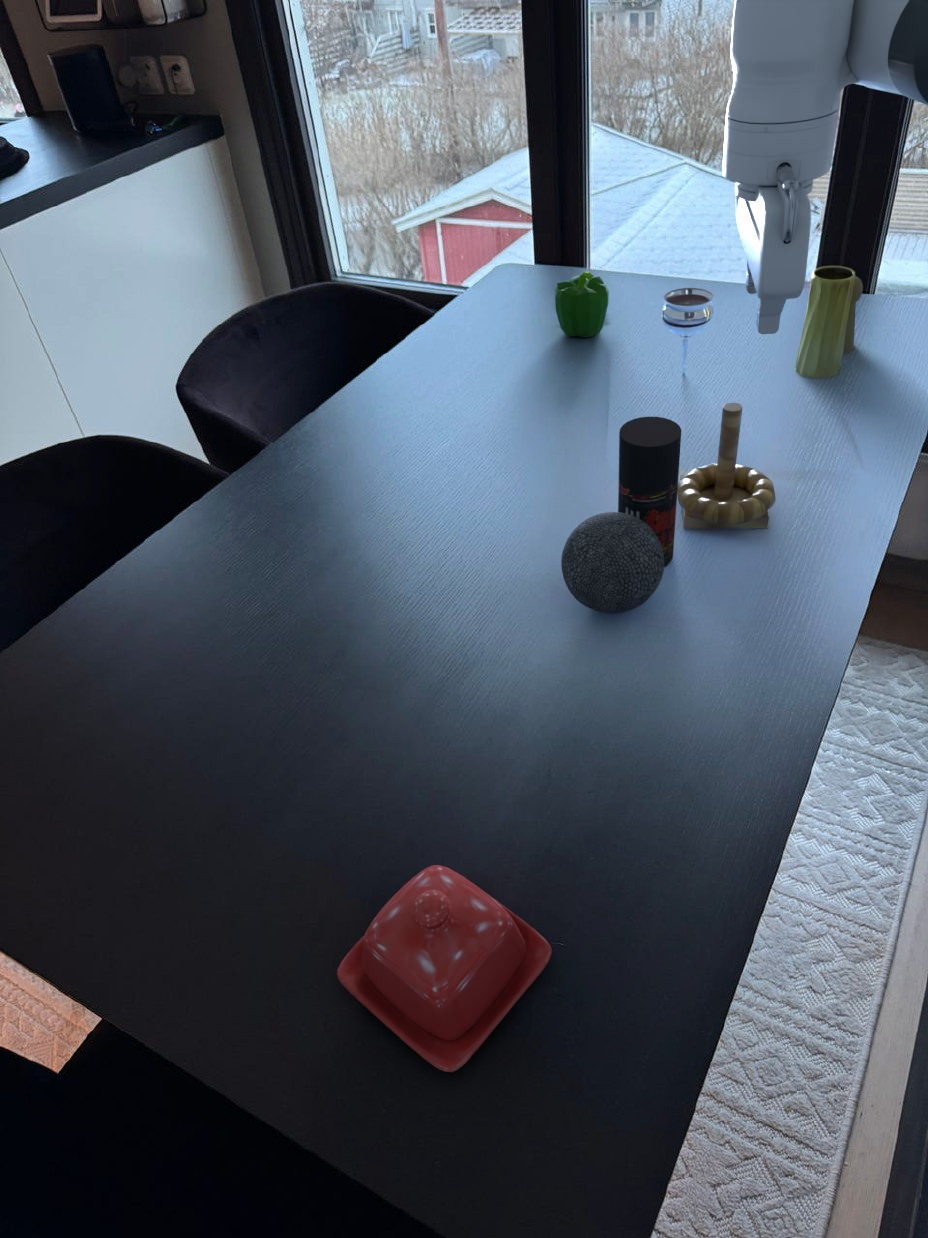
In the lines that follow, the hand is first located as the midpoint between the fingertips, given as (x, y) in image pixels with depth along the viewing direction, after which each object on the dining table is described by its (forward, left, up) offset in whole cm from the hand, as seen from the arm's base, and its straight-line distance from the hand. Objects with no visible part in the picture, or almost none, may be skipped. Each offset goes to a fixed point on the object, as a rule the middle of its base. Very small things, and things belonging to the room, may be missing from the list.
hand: (760, 309), depth 83 cm
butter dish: (+24, +55, -24) cm, 65 cm away
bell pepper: (+19, -53, -24) cm, 61 cm away
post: (+1, -3, -24) cm, 24 cm away
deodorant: (+10, +7, -24) cm, 27 cm away
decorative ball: (+13, +15, -24) cm, 31 cm away
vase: (-14, -35, -24) cm, 44 cm away
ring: (+1, -1, -21) cm, 21 cm away
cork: (-17, -42, -24) cm, 51 cm away
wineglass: (+4, -35, -24) cm, 42 cm away
